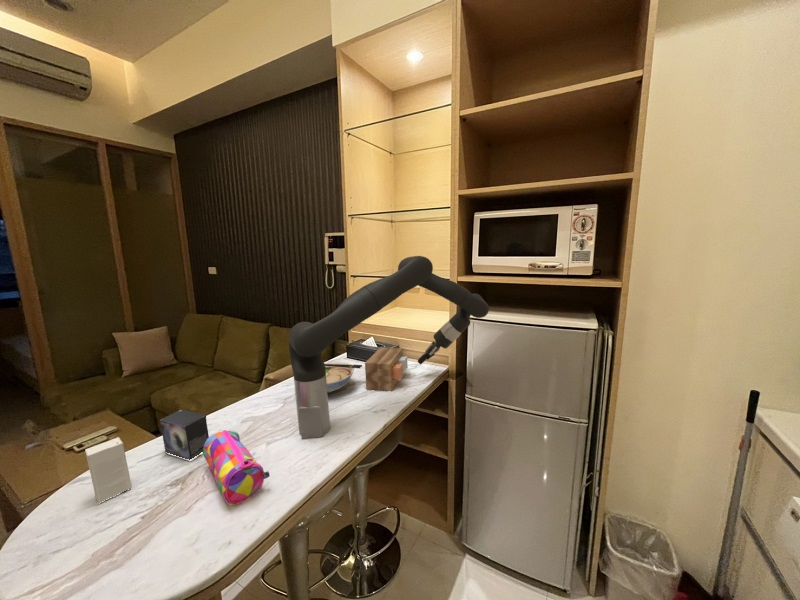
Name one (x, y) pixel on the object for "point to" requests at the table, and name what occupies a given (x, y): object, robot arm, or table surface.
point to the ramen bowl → (338, 374)
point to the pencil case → (233, 467)
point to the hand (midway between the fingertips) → (419, 362)
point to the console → (381, 369)
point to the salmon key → (397, 371)
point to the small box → (184, 433)
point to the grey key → (403, 362)
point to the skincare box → (108, 469)
